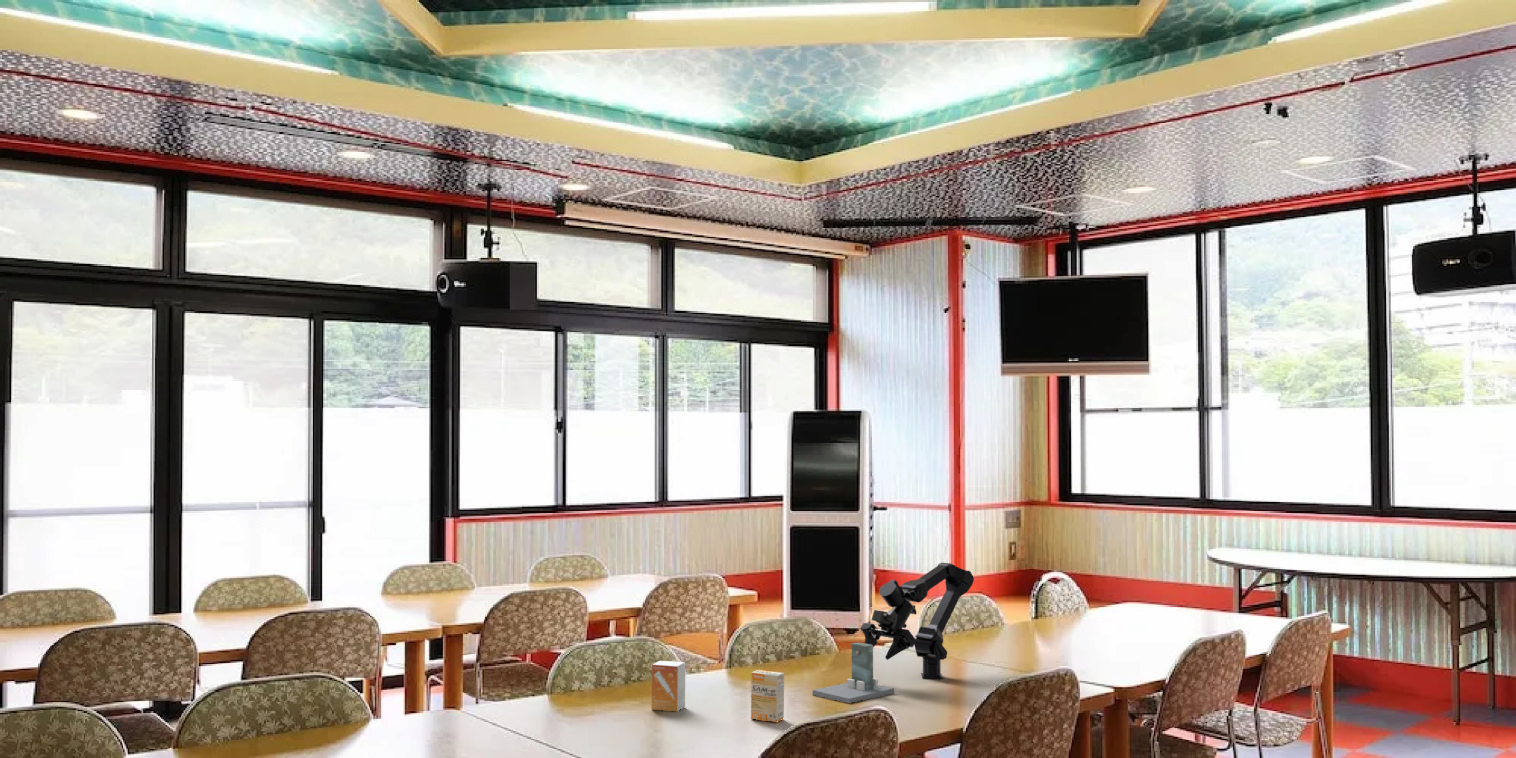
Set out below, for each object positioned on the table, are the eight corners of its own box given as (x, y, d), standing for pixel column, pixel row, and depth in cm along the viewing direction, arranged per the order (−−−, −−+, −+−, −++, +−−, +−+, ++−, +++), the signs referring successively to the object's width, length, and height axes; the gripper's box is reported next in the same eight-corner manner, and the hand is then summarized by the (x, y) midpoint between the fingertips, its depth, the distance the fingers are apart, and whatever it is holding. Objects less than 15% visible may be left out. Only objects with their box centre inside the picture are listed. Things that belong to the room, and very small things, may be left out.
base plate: (857, 685, 364) (857, 672, 365) (894, 693, 353) (894, 680, 353) (812, 695, 351) (812, 681, 351) (848, 703, 340) (848, 689, 340)
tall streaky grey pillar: (858, 684, 358) (858, 642, 359) (873, 688, 354) (873, 644, 354) (850, 686, 356) (849, 643, 356) (864, 690, 351) (864, 646, 352)
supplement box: (750, 720, 320) (750, 672, 321) (758, 716, 325) (758, 668, 325) (776, 723, 317) (776, 675, 317) (784, 719, 321) (784, 671, 321)
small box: (651, 710, 332) (651, 664, 332) (659, 705, 338) (659, 660, 338) (677, 712, 329) (677, 665, 330) (685, 707, 335) (685, 661, 336)
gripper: (863, 597, 370) (840, 636, 362) (909, 603, 357) (885, 644, 349) (880, 619, 375) (857, 658, 367) (925, 626, 362) (902, 667, 354)
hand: (875, 656), depth 359 cm, fingers open, 9 cm apart
